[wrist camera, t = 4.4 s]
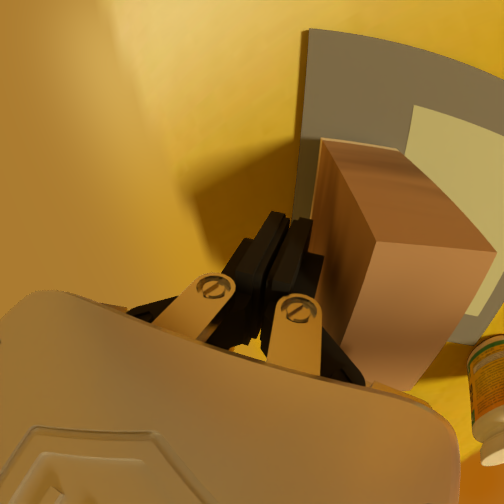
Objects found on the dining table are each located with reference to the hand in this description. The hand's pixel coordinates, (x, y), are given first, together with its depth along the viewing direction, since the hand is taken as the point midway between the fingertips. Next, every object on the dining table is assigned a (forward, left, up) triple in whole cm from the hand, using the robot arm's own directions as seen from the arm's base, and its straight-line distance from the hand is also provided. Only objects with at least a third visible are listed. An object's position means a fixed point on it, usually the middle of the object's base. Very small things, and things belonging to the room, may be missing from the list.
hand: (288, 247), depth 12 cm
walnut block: (0, +2, -5) cm, 6 cm away
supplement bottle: (+10, +18, -6) cm, 22 cm away
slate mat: (0, +7, -6) cm, 9 cm away
